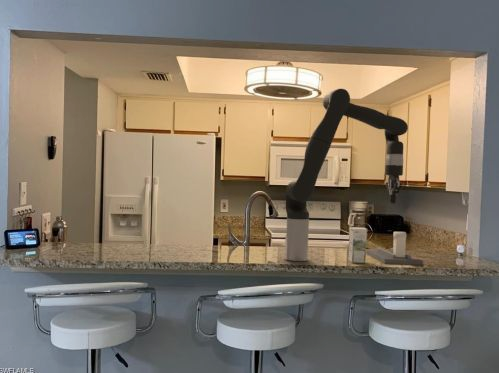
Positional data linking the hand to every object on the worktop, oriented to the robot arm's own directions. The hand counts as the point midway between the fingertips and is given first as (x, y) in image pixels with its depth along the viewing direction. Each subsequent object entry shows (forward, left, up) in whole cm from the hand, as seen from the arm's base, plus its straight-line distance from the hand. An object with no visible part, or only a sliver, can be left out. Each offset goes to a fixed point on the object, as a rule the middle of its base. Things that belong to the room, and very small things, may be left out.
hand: (392, 203), depth 182 cm
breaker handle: (0, -9, -22) cm, 24 cm away
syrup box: (-19, -12, -25) cm, 34 cm away
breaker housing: (0, -2, -25) cm, 25 cm away
